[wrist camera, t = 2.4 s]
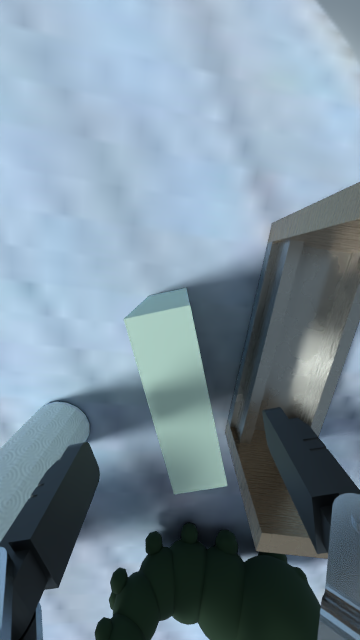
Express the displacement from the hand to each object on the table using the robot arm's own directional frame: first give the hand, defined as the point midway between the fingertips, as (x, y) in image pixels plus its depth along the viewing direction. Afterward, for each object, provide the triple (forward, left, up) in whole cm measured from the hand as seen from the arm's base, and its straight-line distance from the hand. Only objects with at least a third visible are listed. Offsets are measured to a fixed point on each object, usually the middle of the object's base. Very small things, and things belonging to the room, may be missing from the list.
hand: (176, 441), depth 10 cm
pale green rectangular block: (0, 0, -12) cm, 12 cm away
